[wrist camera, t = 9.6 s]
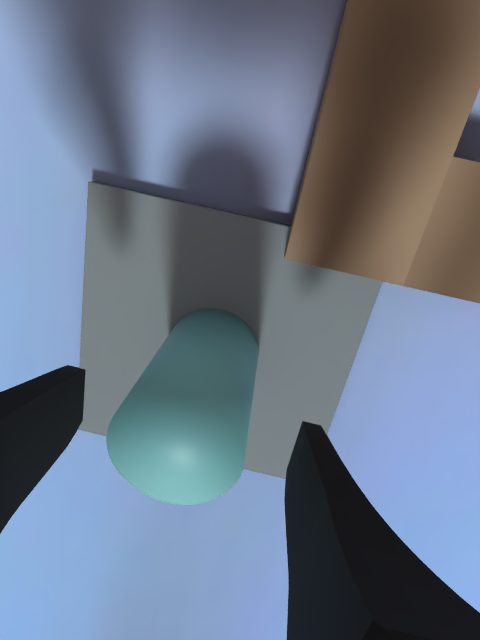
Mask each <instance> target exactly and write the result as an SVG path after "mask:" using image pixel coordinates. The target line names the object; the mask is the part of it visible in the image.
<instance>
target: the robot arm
mask: <svg viewBox="0 0 480 640" xmlns="http://www.w3.org/2000/svg"><path fill="white" fill-rule="evenodd" d="M85 373H86V369H81V368H77V367H73V366H69V365H67V366H64V367H61V368H59V369H56V370H54V371H51V372H49V373H46V374H44V375H41V376H39V377H37V378H34V379H32V380H29V381H27V382H25V383H22V384H20V385H17V386H15V387H12V388H10V389H7V390H5V391H2V392H0V533H1V532H2V530H3V529H4V527H5V526H6V524H7V523H8V521H9V520H10V518H11V517H12V515H13V514H14V513H15V511H16V510H17V509H18V507H19V506H20V505H21V504H22V502H23V501H24V500H25V499H26V497H27V496H28V495H29V494H30V492H31V491H32V490H33V489H34V487H35V486H36V485H37V484H38V482H39V481H40V480H41V479H42V478H43V476H44V475H45V474H46V473H47V471H48V470H49V469H50V468H51V466H52V465H53V464H54V463H55V461H56V460H57V459H58V458H59V456H60V455H61V454H62V452H63V451H64V450H65V449H66V447H67V446H68V444H69V443H70V441H71V439H72V438H73V436H74V435H75V433H76V431H77V430H78V428H79V426H80V424H81V423H82V421H83V409H84V391H85ZM285 518H286V537H287V554H288V573H289V595H288V623H287V640H480V613H479V612H478V611H477V610H475V609H474V608H473V607H472V606H471V605H469V604H468V603H467V602H466V601H464V600H463V599H462V598H461V597H460V596H459V595H457V594H456V593H455V592H454V591H453V590H452V589H451V588H450V587H449V586H448V585H446V584H445V583H444V582H443V581H442V580H441V579H440V578H439V577H438V576H436V575H435V574H434V573H433V572H432V571H431V570H430V569H429V568H428V567H427V566H426V565H425V564H424V563H423V562H422V561H421V560H420V559H419V558H418V557H417V556H416V555H415V554H414V553H413V552H412V551H411V550H410V549H409V548H408V546H407V545H406V544H405V543H404V542H403V541H402V540H401V539H400V538H399V537H398V536H397V535H396V534H395V532H394V531H393V530H392V529H391V528H390V527H389V525H388V524H387V523H386V522H385V521H384V519H383V518H382V517H381V516H380V515H379V513H378V512H377V511H376V510H375V508H374V507H373V506H372V505H371V503H370V502H369V501H368V499H367V498H366V496H365V495H364V494H363V492H362V491H361V489H360V488H359V487H358V485H357V484H356V482H355V481H354V479H353V478H352V476H351V475H350V473H349V472H348V470H347V468H346V467H345V465H344V464H343V462H342V460H341V459H340V457H339V455H338V454H337V452H336V450H335V449H334V447H333V445H332V443H331V442H330V440H329V438H328V436H327V435H326V433H325V431H324V430H323V428H322V426H321V425H317V424H313V423H309V422H305V421H302V424H301V427H300V430H299V433H298V436H297V439H296V442H295V445H294V448H293V451H292V454H291V457H290V461H289V464H288V467H287V470H286V484H285Z"/></svg>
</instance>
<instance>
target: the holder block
mask: <svg viewBox="0 0 480 640" xmlns="http://www.w3.org/2000/svg"><path fill="white" fill-rule="evenodd" d="M479 88H480V0H347V4H346V8H345V12H344V16H343V20H342V24H341V28H340V32H339V36H338V40H337V44H336V47H335V51H334V55H333V59H332V63H331V67H330V71H329V75H328V79H327V83H326V87H325V91H324V95H323V99H322V103H321V107H320V111H319V115H318V119H317V123H316V127H315V131H314V135H313V139H312V143H311V147H310V151H309V155H308V159H307V163H306V167H305V171H304V175H303V179H302V183H301V187H300V191H299V195H298V199H297V203H296V207H295V211H294V215H293V219H292V223H291V229H290V233H289V237H288V241H287V245H286V249H285V253H284V257H285V259H287V260H291V261H296V262H300V263H304V264H309V265H313V266H318V267H322V268H326V269H331V270H335V271H340V272H344V273H349V274H353V275H357V276H362V277H366V278H371V279H375V280H379V281H384V282H388V283H393V284H397V285H402V286H406V287H410V288H415V289H419V290H424V291H428V292H432V293H437V294H441V295H446V296H450V297H455V298H459V299H463V300H468V301H472V302H477V303H480V162H476V161H471V160H467V159H462V158H457V157H453V155H454V153H455V150H456V148H457V145H458V142H459V140H460V137H461V135H462V132H463V129H464V127H465V124H466V122H467V119H468V117H469V114H470V111H471V109H472V106H473V104H474V101H475V98H476V96H477V93H478V91H479Z"/></svg>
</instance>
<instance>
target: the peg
mask: <svg viewBox="0 0 480 640" xmlns="http://www.w3.org/2000/svg"><path fill="white" fill-rule="evenodd" d="M257 362H258V344H257V340H256V338H255V335H254V333H253V332H252V330H251V329H250V327H249V326H248V325H247V324H246V323H245V322H244V321H243V320H242V319H241V318H239V317H238V316H236V315H234V314H232V313H230V312H228V311H225V310H221V309H215V308H206V309H199V310H196V311H193V312H191V313H189V314H187V315H186V316H184V317H183V318H182V319H180V320H179V321H178V323H177V324H176V325H175V327H174V328H173V329H172V331H171V332H170V334H169V335H168V337H167V338H166V340H165V341H164V343H163V344H162V345H161V347H160V348H159V350H158V351H157V353H156V354H155V356H154V357H153V359H152V360H151V361H150V363H149V364H148V366H147V367H146V369H145V370H144V372H143V373H142V375H141V376H140V378H139V379H138V380H137V382H136V383H135V385H134V386H133V388H132V389H131V391H130V392H129V394H128V395H127V396H126V398H125V399H124V401H123V402H122V404H121V405H120V407H119V408H118V410H117V411H116V413H115V414H114V416H113V417H112V419H111V421H110V424H109V426H108V430H107V449H108V453H109V456H110V458H111V461H112V463H113V465H114V466H115V468H116V470H117V471H118V472H119V474H120V475H121V476H122V477H123V478H124V479H125V480H126V481H127V482H128V483H129V484H130V485H131V486H133V487H134V488H135V489H137V490H138V491H140V492H141V493H143V494H145V495H147V496H149V497H151V498H154V499H156V500H159V501H163V502H166V503H171V504H179V505H193V504H200V503H205V502H208V501H211V500H214V499H216V498H218V497H220V496H222V495H223V494H225V493H226V492H227V491H229V490H230V489H231V488H232V487H233V486H234V485H235V483H236V482H237V481H238V479H239V477H240V475H241V473H242V470H243V466H244V462H245V454H246V446H247V439H248V431H249V423H250V416H251V408H252V400H253V393H254V385H255V377H256V370H257Z"/></svg>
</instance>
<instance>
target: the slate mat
mask: <svg viewBox="0 0 480 640" xmlns="http://www.w3.org/2000/svg"><path fill="white" fill-rule="evenodd" d="M290 229H291V226H288V225H284V224H279V223H275V222H271V221H266V220H262V219H257V218H253V217H248V216H244V215H239V214H235V213H230V212H226V211H222V210H217V209H213V208H208V207H204V206H199V205H195V204H190V203H186V202H182V201H177V200H173V199H168V198H164V197H159V196H155V195H150V194H146V193H141V192H137V191H133V190H128V189H124V188H119V187H115V186H110V185H106V184H101V183H97V182H88V199H87V220H86V241H85V262H84V283H83V304H82V326H81V347H80V368H81V369H86V373H85V391H84V409H83V421H82V423H81V424H80V426H79V428H78V429H79V430H83V431H87V432H91V433H95V434H100V435H104V436H107V430H108V426H109V424H110V421H111V419H112V417H113V416H114V414H115V413H116V411H117V410H118V408H119V407H120V405H121V404H122V402H123V401H124V399H125V398H126V396H127V395H128V394H129V392H130V391H131V389H132V388H133V386H134V385H135V383H136V382H137V380H138V379H139V378H140V376H141V375H142V373H143V372H144V370H145V369H146V367H147V366H148V364H149V363H150V361H151V360H152V359H153V357H154V356H155V354H156V353H157V351H158V350H159V348H160V347H161V345H162V344H163V343H164V341H165V340H166V338H167V337H168V335H169V334H170V332H171V331H172V329H173V328H174V327H175V325H176V324H177V323H178V321H179V320H180V319H182V318H183V317H184V316H186V315H187V314H189V313H191V312H193V311H196V310H199V309H206V308H215V309H221V310H225V311H228V312H230V313H232V314H234V315H236V316H238V317H239V318H241V319H242V320H243V321H244V322H245V323H246V324H247V325H248V326H249V327H250V329H251V330H252V332H253V333H254V335H255V338H256V340H257V344H258V362H257V370H256V377H255V385H254V393H253V400H252V408H251V416H250V423H249V431H248V439H247V446H246V454H245V462H244V466H243V469H246V470H251V471H255V472H259V473H263V474H267V475H272V476H276V477H280V478H284V479H286V470H287V467H288V464H289V461H290V457H291V454H292V451H293V448H294V445H295V442H296V439H297V436H298V433H299V430H300V427H301V424H302V421H305V422H309V423H313V424H317V425H321V426H322V428H323V430H324V431H325V433H326V435H327V433H328V430H329V427H330V425H331V422H332V419H333V416H334V414H335V411H336V408H337V405H338V403H339V400H340V397H341V394H342V392H343V389H344V386H345V383H346V381H347V378H348V375H349V372H350V370H351V367H352V364H353V361H354V359H355V356H356V353H357V350H358V348H359V345H360V342H361V339H362V337H363V334H364V331H365V328H366V326H367V323H368V320H369V317H370V315H371V312H372V309H373V306H374V304H375V301H376V298H377V295H378V293H379V290H380V287H381V284H382V282H383V281H379V280H375V279H371V278H366V277H362V276H357V275H353V274H349V273H344V272H340V271H335V270H331V269H326V268H322V267H318V266H313V265H309V264H304V263H300V262H296V261H291V260H287V259H285V257H284V253H285V249H286V245H287V241H288V237H289V233H290Z"/></svg>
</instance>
